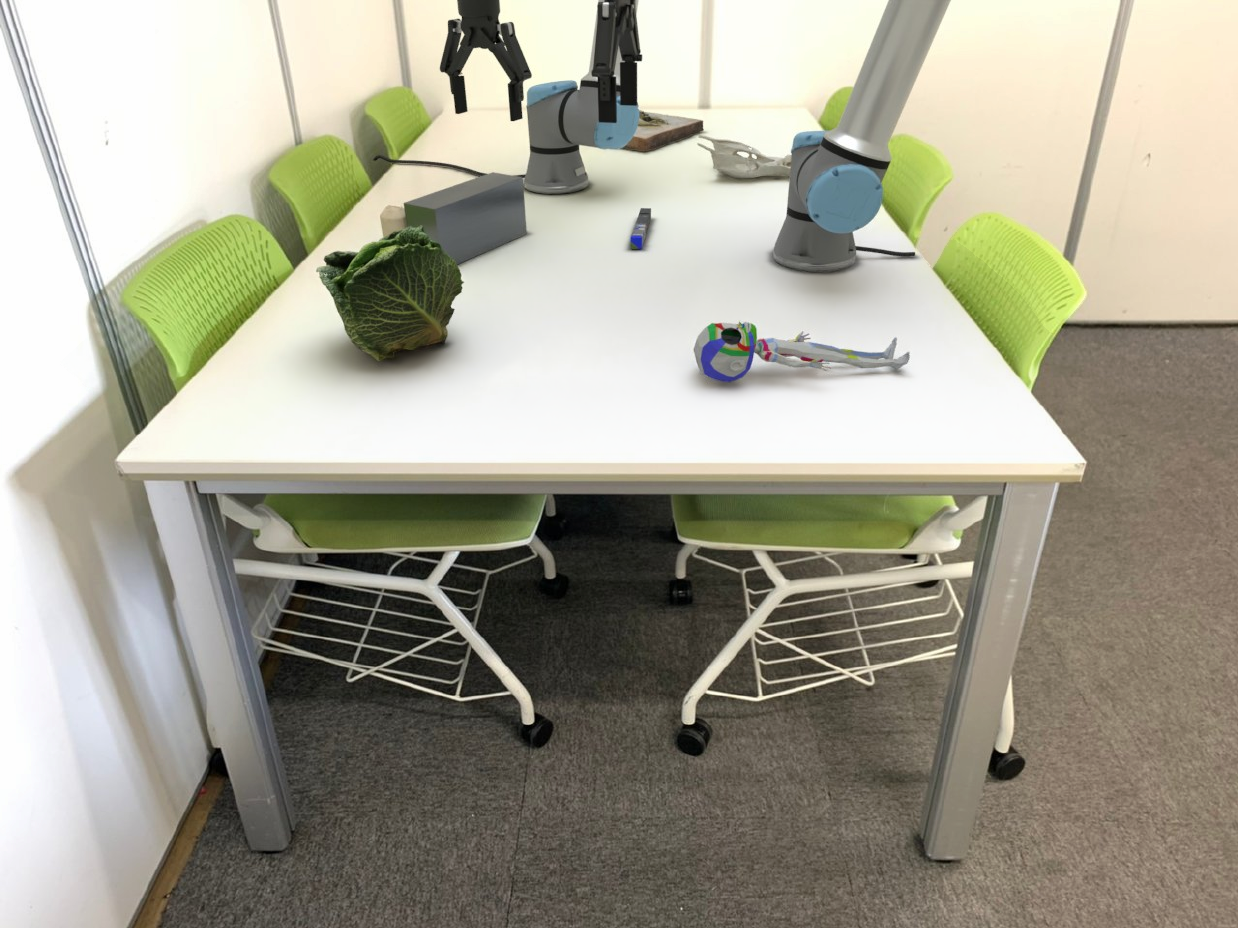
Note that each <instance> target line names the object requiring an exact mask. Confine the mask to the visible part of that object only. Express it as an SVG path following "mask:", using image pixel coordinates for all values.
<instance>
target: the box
mask: <svg viewBox="0 0 1238 928" xmlns="http://www.w3.org/2000/svg"><path fill="white" fill-rule="evenodd" d="M524 188H525V186H524V178H523V177H518V176H512V174H510V175H509V174H507V173H499V172H494V171H493V172H490V173H486V175H483V176H478V177H475V178H472V179H469V180H466V181H464V182H460V183H458V184H455V185H452V186H449V187H446V188H443V189H440V190H437V191H434V192H431V193H428V194H426V195H422V196H420V197H418V198H414V199H411V200H407V201H405V202H404V203H403V208H404V210H405V217H406V224H407V227H410V226H412V228H418V227H419V226H420V225H422V226H423V230H424V232H425V233H426V235H428V237H430V238H431V239H432V240H433V241H435V242H437V243H439V244H440V245H441V248H442V250H443V251H444V252H445V253H446V254H448V255H449V256H450V257H451V258H452V259H453V260H454V261H455V262H456V264H457V265H460V264H462V263H465V262H466V261H468V260H471V259H473V258H475V257H477V256H480V255H482V254H484V253H488V252H489V251H492V250H494V249H497V248H498V247H500V246H503V245H505V244H508V243H509V242H511V241H514V240H516V239H519V238H521V237H523V236H526V235H527V234H528V232H527V230H528V229H527V218H526V217H527V216H526V203H525V201H526V200H525V190H524Z"/></svg>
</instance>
